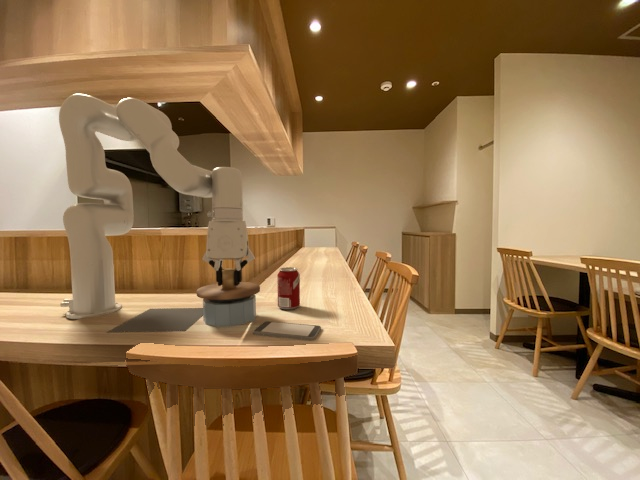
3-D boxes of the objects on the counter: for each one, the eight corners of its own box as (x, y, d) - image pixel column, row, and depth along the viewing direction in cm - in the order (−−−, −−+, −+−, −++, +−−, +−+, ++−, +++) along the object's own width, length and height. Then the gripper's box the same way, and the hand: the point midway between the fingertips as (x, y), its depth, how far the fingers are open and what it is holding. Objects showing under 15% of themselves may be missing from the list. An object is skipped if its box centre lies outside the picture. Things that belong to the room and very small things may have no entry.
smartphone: (265, 320, 72) (321, 325, 68) (265, 324, 72) (321, 330, 68) (251, 331, 65) (313, 337, 61) (251, 336, 65) (313, 342, 61)
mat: (106, 334, 64) (106, 332, 64) (150, 310, 82) (150, 308, 82) (185, 333, 65) (185, 330, 65) (211, 309, 83) (211, 307, 83)
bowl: (196, 329, 68) (195, 305, 67) (214, 312, 81) (213, 291, 80) (249, 328, 68) (249, 304, 68) (258, 311, 81) (258, 291, 81)
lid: (185, 300, 66) (185, 275, 65) (209, 285, 82) (208, 265, 81) (253, 299, 67) (253, 274, 66) (264, 284, 82) (263, 264, 82)
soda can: (289, 312, 80) (288, 271, 80) (273, 308, 85) (272, 269, 84) (304, 306, 86) (304, 268, 85) (288, 303, 90) (288, 266, 89)
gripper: (189, 215, 69) (191, 288, 70) (257, 215, 70) (258, 287, 71) (201, 216, 76) (202, 282, 77) (262, 216, 77) (262, 281, 78)
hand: (229, 284), depth 74 cm, fingers closed on lid, 3 cm apart
